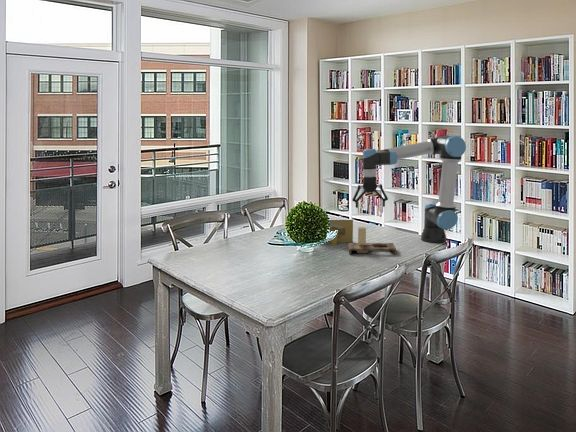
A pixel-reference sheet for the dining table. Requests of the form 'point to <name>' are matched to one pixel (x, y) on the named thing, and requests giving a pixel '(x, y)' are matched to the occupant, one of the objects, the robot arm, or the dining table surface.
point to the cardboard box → (342, 230)
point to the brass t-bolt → (362, 239)
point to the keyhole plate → (372, 247)
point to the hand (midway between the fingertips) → (370, 212)
